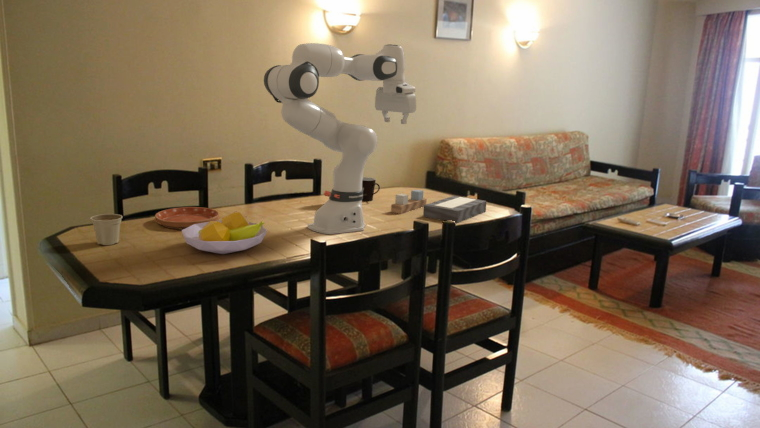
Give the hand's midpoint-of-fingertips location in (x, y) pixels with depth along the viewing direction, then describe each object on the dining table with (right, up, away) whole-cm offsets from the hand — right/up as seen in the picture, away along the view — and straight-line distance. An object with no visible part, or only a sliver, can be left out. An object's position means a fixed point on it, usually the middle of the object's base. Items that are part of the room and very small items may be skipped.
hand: (395, 122), depth 226 cm
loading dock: (+27, -36, +20) cm, 49 cm away
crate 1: (+3, -32, +20) cm, 38 cm away
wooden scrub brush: (+7, -35, +26) cm, 44 cm away
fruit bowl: (-56, -48, -42) cm, 85 cm away
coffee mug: (-12, -30, +40) cm, 52 cm away
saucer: (-79, -40, -12) cm, 89 cm away
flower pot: (-95, -46, -41) cm, 113 cm away
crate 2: (+11, -30, +31) cm, 44 cm away
